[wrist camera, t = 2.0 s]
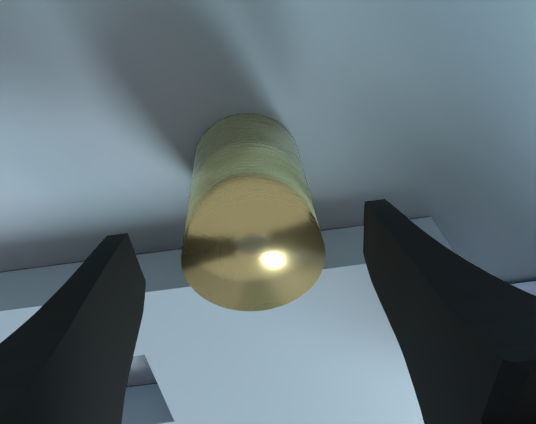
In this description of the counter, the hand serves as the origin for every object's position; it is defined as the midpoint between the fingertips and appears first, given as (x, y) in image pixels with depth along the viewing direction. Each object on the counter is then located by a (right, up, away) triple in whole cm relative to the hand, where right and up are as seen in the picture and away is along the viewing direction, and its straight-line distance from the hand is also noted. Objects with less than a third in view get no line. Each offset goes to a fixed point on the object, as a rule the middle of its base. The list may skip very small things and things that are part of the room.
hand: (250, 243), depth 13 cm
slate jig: (-2, -6, +11) cm, 13 cm away
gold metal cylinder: (0, +3, +4) cm, 5 cm away
